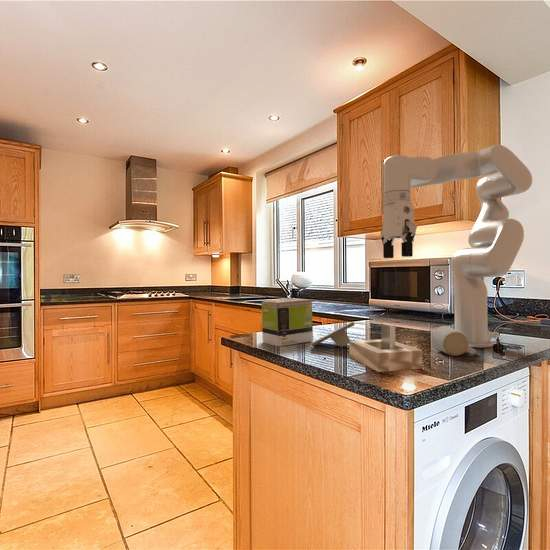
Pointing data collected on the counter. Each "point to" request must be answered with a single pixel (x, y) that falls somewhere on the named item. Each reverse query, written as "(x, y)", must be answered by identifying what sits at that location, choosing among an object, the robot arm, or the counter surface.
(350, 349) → the well block
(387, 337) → the wood grain block
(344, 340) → the beige double panel block
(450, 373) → the counter surface
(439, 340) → the ceramic mug
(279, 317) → the tea box
